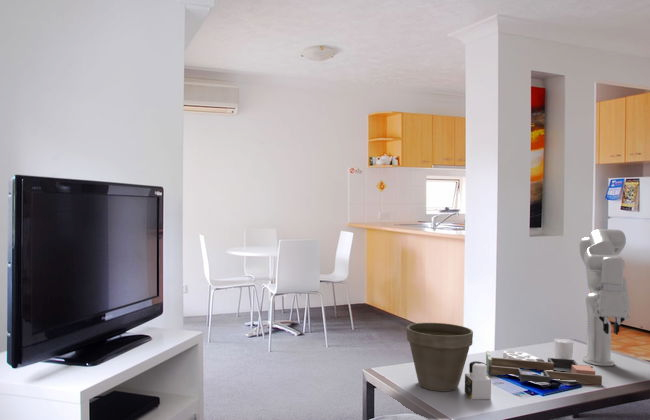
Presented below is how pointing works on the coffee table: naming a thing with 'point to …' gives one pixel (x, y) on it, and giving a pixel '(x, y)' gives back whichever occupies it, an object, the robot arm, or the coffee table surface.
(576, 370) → the salmon pink square block
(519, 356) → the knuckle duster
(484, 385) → the medicine bottle
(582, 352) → the coffee table surface
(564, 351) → the white cup
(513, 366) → the channel
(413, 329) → the plant pot
